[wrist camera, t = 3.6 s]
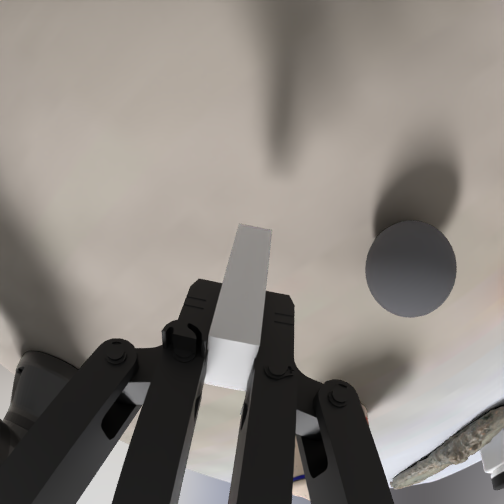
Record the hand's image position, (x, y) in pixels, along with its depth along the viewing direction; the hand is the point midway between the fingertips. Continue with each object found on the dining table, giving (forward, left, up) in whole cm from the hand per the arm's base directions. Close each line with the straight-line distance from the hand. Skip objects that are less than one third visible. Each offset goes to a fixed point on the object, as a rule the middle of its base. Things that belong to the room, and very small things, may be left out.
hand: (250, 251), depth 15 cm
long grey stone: (+41, -38, -5) cm, 56 cm away
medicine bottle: (+54, -35, -5) cm, 65 cm away
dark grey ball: (+9, 0, -2) cm, 9 cm away
